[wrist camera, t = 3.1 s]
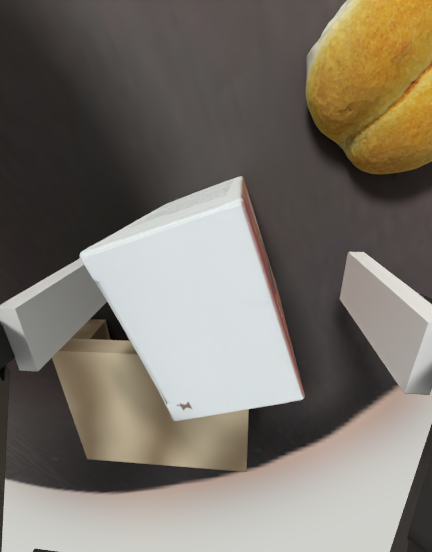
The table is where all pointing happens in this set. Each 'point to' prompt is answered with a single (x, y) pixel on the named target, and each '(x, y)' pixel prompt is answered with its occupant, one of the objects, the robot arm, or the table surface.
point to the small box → (200, 303)
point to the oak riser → (138, 410)
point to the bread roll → (375, 83)
